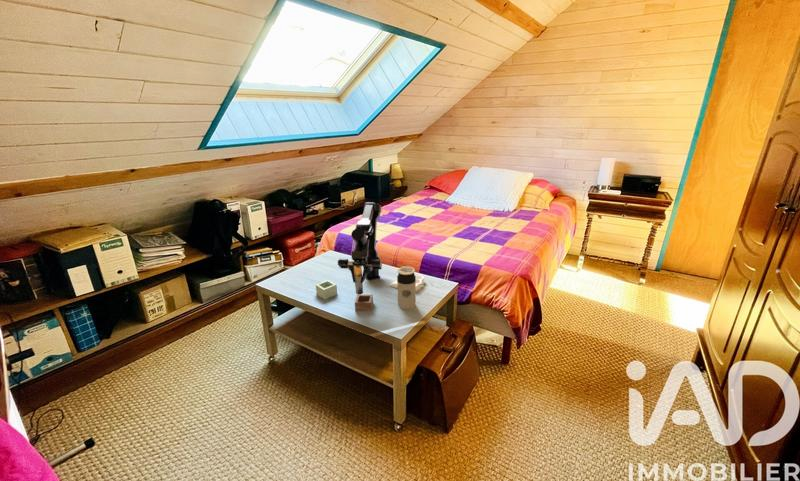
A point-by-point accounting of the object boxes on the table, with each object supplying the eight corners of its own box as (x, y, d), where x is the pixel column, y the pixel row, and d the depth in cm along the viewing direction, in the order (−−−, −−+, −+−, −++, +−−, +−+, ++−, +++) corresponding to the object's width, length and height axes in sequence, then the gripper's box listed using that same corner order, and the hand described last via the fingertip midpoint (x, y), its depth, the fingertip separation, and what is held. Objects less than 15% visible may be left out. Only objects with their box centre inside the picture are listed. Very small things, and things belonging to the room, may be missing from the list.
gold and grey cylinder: (362, 290, 161) (360, 264, 156) (363, 293, 158) (362, 267, 154) (355, 291, 160) (353, 266, 155) (356, 294, 157) (354, 269, 153)
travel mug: (400, 300, 167) (400, 265, 161) (417, 302, 165) (417, 267, 159) (395, 309, 160) (394, 273, 154) (413, 312, 158) (412, 275, 152)
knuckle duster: (406, 276, 190) (430, 284, 182) (385, 291, 177) (410, 299, 169) (406, 271, 189) (430, 278, 181) (385, 285, 175) (410, 293, 167)
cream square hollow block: (329, 290, 177) (328, 279, 175) (337, 295, 173) (336, 284, 170) (316, 295, 173) (315, 284, 171) (324, 301, 168) (323, 289, 166)
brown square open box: (357, 304, 165) (357, 294, 163) (373, 304, 165) (372, 294, 163) (355, 312, 159) (354, 302, 157) (371, 312, 158) (370, 302, 156)
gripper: (336, 241, 156) (331, 276, 149) (379, 242, 154) (376, 277, 147) (342, 251, 166) (338, 284, 160) (383, 252, 164) (380, 285, 158)
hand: (358, 282), depth 156 cm, fingers closed on gold and grey cylinder, 3 cm apart
